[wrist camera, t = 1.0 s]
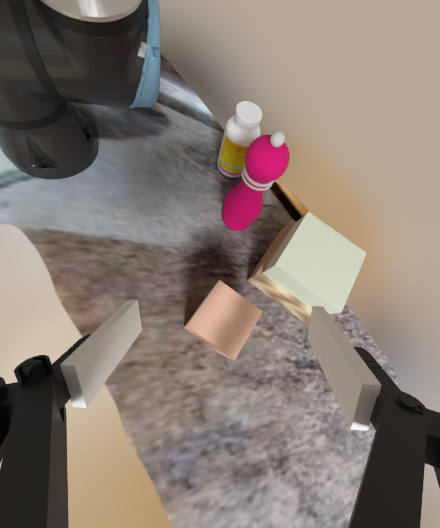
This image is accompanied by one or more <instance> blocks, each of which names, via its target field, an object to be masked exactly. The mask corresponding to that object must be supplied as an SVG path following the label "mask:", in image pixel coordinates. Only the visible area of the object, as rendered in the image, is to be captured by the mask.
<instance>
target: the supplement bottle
mask: <svg viewBox="0 0 440 528" xmlns="http://www.w3.org/2000/svg"><path fill="white" fill-rule="evenodd" d="M261 118H262V111H261V109H260V108H259V107H258V106H257V105H255V104H254V103H252V102H248V101H243V102H240V103H239V104H238V105H237V106H236V110H235V113H234V116H232V117H231V118H229V120H228V121H227V123H226V127H225V131H224V135H223V139H222V143H221V148H220V152H219V156H218V161H217V165H218V168H219V170H220V171H221V173H223V174H224V175H225V176H228V177H231V178H236V177H240V176H242V170H243V168H244V166H245V155H246V151H247V149H248V147H249V145H250V144H251V143H252V142H253V141H254V140H255V139H256V138H258V137H260V127H259V124H260V121H261Z"/></svg>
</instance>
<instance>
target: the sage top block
mask: <svg viewBox="0 0 440 528" xmlns="http://www.w3.org/2000/svg"><path fill="white" fill-rule="evenodd" d="M365 256H366V252H364V251H363V250H362V249H360V248H359V247H357V246H356V245H354V244H353V243H352V242H350V241H349V240H347V239H346V238H345V237H343V236H342V235H340V234H339V233H338V232H336V231H335V230H333V229H332V228H331V227H329V226H328V225H326V224H325V223H324V222H322V221H321V220H319V219H318V218H317V217H315V216H314V215H312V214H311V213H310V212H307V213H306V214H305V215H304V216H303V217H302V218H301V219H299V220H298V221H297V222H296V223H295V224H294V225H293V226H292V228H291V229H290V231H289V233H288V234H287V236H286V237H285V239H284V240H283V242H282V244H281V245H280V247H279V248H278V250H277V251H276V253H275V255H274V256H273V258H272V259H271V261H270V262H269V264H268V266H267V267H266V269H265V270H264V272H263V274H264V275H265V276H267V277H268V278H269V279H271V280H272V281H274V282H275V283H276V284H278V285H279V286H281V287H282V288H283V289H285V290H286V291H287V292H289V293H290V294H292V295H293V296H294V297H296V298H297V299H298V300H300V301H301V302H303V303H304V304H305V305H307V306H308V307H309V308H311V309H312V306H322V307H324V308H325V310H326V311H327V313H328V314H333V313H341V312H342V310H343V307H344V305H345V303H346V300H347V298H348V296H349V293H350V291H351V288H352V286H353V284H354V282H355V279H356V277H357V274H358V272H359V270H360V267H361V265H362V263H363V260H364V258H365Z"/></svg>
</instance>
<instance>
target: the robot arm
mask: <svg viewBox="0 0 440 528" xmlns="http://www.w3.org/2000/svg"><path fill="white" fill-rule="evenodd" d="M160 43H161V32H160V12H159V4H158V0H0V147H1V149H2V151H3V152H4V154H5V155H6V156H7V158H8V159H9V160H10V161H11V162H12V163H13V164H14V165H15V166H16V167H17V168H19V169H20V170H21V171H23V172H25V173H27V174H29V175H31V176H34V177H38V178H43V179H61V178H67V177H70V176H73V175H76V174H78V173H80V172H82V171H83V170H85V169H86V168H87V167H89V166H90V165H91V164H92V162H93V161H94V159H95V157H96V155H97V152H98V143H97V140H96V137H95V135H94V132H93V130H92V128H91V126H90V125H89V123H88V122H87V121H86V120H85V118H84V117H83V116H82V115H81V114H80V113H79V111H78V110H77V109H76V108H75V107H74V106H73V104H72V103H71V102H76V103H86V104H96V105H107V106H117V107H127V108H134V107H151V106H153V105H154V104H155V103H156V101H157V99H158V94H159V85H160V60H161V59H160ZM141 331H142V327H141V320H140V313H139V306H138V300H127V301H126V302H125V303H124V304H123V305H122V306H121V307H120V308H119V309H118V310H117V311H116V312H115V313H114V314H113V315H112V316H111V317H109V318H108V319H107V320H106V321H105V322H104V323H103V324H102V325H101V326H100V327H99V328H98V329H97V330H96V331H95V332H94V333H93V334H88V335H86V336H84V337H83V338H81V339H79V340H78V341H77V342H76V343H75V344H74V345H73V347H71V348H70V349H69V350H68V351H67V352H65V353H64V354H63V355H62V356H61V357H60V358H59V359H58V360H56V361H55V362H54V363H53V364H52V365H51V362H50V359H49V357H48V356H46V355H39V356H35V357H32V358H30V359H27V360H26V361H24V362H22V363H21V364H20V365H18V366H17V367H16V369H15V370H14V373H15V375H16V378H17V380H18V382H16V383H11V384H5V381H4V379H3V378H1V377H0V462H1V460H2V458H3V460H2V465H1V469H0V528H68V485H67V483H68V482H67V433H66V431H67V429H66V408H65V404H66V403H67V402H68V400H69V399H71V402H72V405H73V407H82V408H87V407H88V405H89V404H90V403H91V401H92V399H93V398H94V397H95V396H96V394H97V393H98V391H99V390H100V389H101V387H102V386H103V384H104V383H105V382H106V380H107V379H108V377H109V376H110V374H111V373H112V372H113V370H114V369H115V367H116V366H117V365H118V363H119V362H120V360H121V359H122V358H123V356H124V355H125V353H126V352H127V351H128V349H129V348H130V346H131V345H132V344H133V342H134V341H135V339H136V338H137V337H138V335H139V334H140V332H141ZM308 340H309V342H310V345H311V347H312V349H313V351H314V353H315V355H316V357H317V359H318V361H319V364H320V366H321V368H322V370H323V372H324V374H325V376H326V378H327V380H328V383H329V385H330V387H331V389H332V391H333V393H334V395H335V397H336V399H337V402H338V404H339V406H340V408H341V410H342V412H343V414H344V416H345V419H346V421H347V423H348V425H349V427H350V429H353V430H366V431H368V428H369V425H370V422H371V423H372V424H373V426H374V428H375V430H376V433H375V436H374V439H373V442H372V445H371V450H370V453H369V457H368V460H367V463H366V467H365V470H364V474H363V477H362V481H361V484H360V488H359V491H358V495H357V498H356V502H355V505H354V508H353V512H352V515H351V519H350V522H349V526H348V528H420V519H421V506H422V493H423V479H424V465H425V463H426V464H429V465H432V466H434V470H435V473H436V477H437V480H438V484H439V487H440V413H439V412H435V411H432V410H429V409H426V408H425V406H424V405H423V404H422V403H421V402H420V401H419V400H417V399H416V398H415V397H413V396H411V395H409V394H407V393H405V392H402V391H401V390H400V389H399V388H398V387H397V386H396V384H395V383H394V382H393V381H392V379H391V378H390V377H389V376H388V375H387V373H386V372H385V371H384V370H383V369H382V367H381V366H380V365H379V364H378V363H377V361H376V360H375V359H374V358H373V356H372V355H371V354H370V353H369V352H367V351H366V350H365V349H363V348H362V347H353V346H352V345H351V343H350V342H349V341H348V339H347V338H346V337H345V335H344V334H343V333H342V331H341V330H340V329H339V327H338V326H337V325H336V323H335V322H334V321H333V319H332V318H331V317H330V315H329V314H328V313H327V311H326V310H325V308H324V307H322V306H312V310H311V317H310V324H309V331H308Z"/></svg>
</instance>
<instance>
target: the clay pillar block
mask: <svg viewBox="0 0 440 528" xmlns="http://www.w3.org/2000/svg"><path fill="white" fill-rule="evenodd" d="M262 312H263V311H261V310H260V309H259V308H257V307H256V306H255V305H253V304H252V303H251V302H249V301H248V300H246V299H245V298H244V297H242V296H241V295H240V294H238V293H237V292H235V291H234V290H233V289H231V288H230V287H229V286H227V285H226V284H224V283H223V282H222V281H220V280H219V281H218V282H217V284H216V285H215V286H214V287H213V288H212V290H211V291H210V292H209V293H208V295H207V296H206V297H205V299H204V300H203V302H202V303H201V304H200V306H199V307H198V309H197V310H196V311H195V313H194V314H193V315H192V317H191V318H190V320H189V321H188V322H187V324H186V325H185V327H184V328H186V329H187V330H188V331H190V332H191V333H192V334H194V335H195V336H196V337H198V338H199V339H200V340H202V341H203V342H204V343H206V344H207V345H209V346H210V347H211V348H213V349H214V350H215V351H217V352H218V353H220V354H222V355H224V356H226V357H228V358H230V359H232V360H235V358H236V357H237V355H238V353H239V352H240V350H241V348H242V346H243V345H244V343H245V341H246V340H247V338H248V336H249V334H250V333H251V331H252V329H253V328H254V326H255V324H256V322H257V321H258V319H259V317H260V316H261V314H262Z"/></svg>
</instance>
